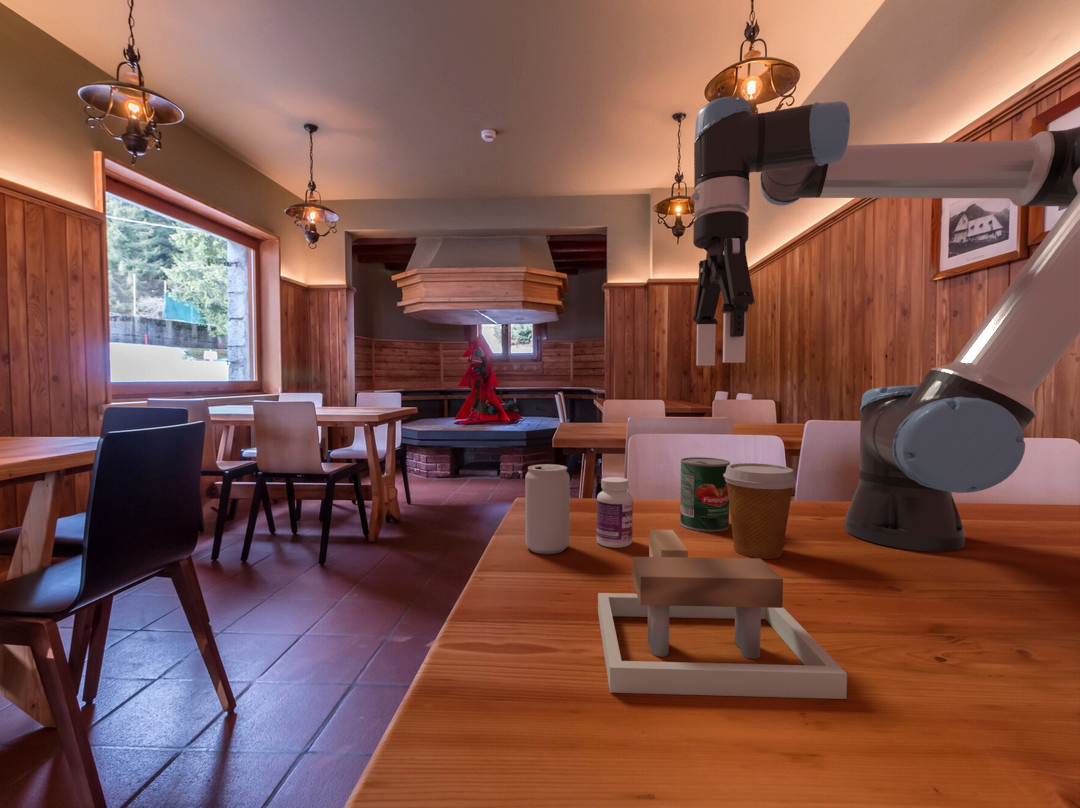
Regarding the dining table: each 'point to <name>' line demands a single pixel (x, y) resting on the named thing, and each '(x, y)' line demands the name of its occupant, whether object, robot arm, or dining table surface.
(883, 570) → the dining table surface
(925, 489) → the robot arm
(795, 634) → the peg frame
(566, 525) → the beverage can
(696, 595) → the board
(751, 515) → the disposable coffee cup
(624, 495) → the pill bottle
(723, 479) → the canned tomato
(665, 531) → the stand block
